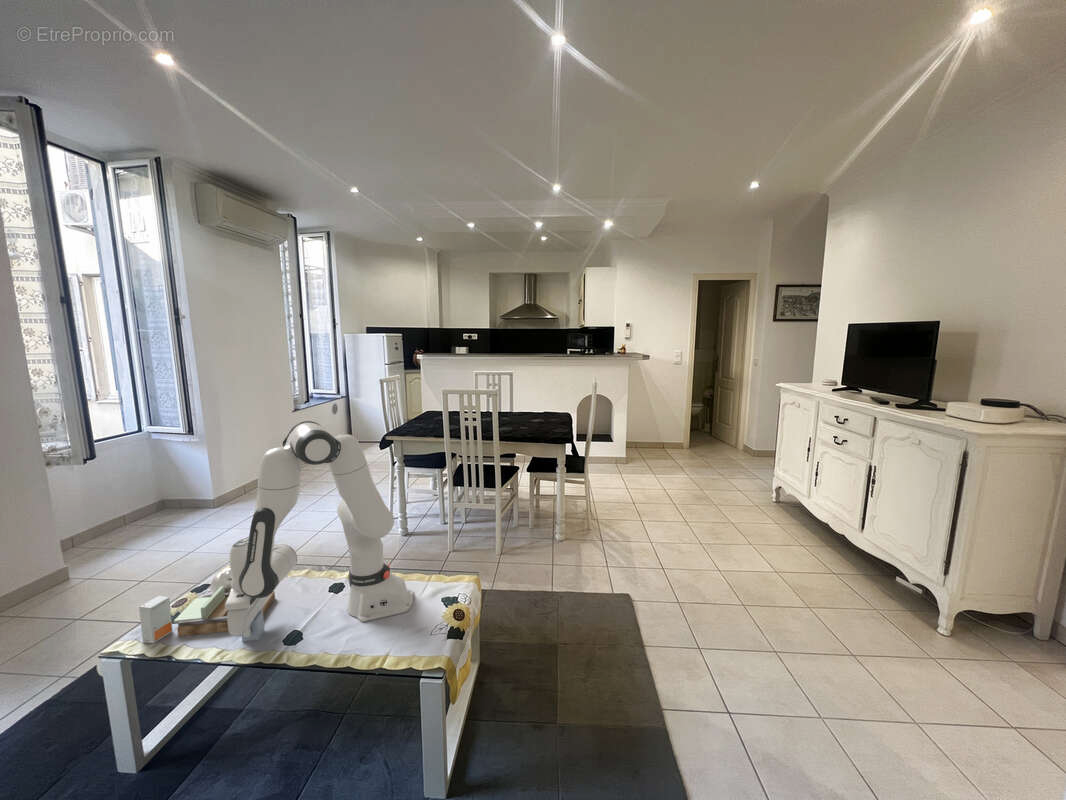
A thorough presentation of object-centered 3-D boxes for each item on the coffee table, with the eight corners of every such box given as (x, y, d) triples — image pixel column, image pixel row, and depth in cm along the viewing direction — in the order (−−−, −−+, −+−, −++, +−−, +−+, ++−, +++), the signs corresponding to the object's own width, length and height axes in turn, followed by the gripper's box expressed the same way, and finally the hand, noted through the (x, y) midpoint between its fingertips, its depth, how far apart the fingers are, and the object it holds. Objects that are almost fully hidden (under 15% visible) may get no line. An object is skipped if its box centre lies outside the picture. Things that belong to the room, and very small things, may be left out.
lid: (225, 597, 146) (224, 586, 146) (206, 619, 135) (204, 607, 134) (195, 600, 144) (194, 589, 144) (173, 623, 133) (172, 610, 132)
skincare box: (153, 644, 128) (149, 608, 127) (142, 642, 129) (137, 606, 127) (173, 631, 134) (169, 596, 132) (162, 629, 135) (159, 595, 133)
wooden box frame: (275, 598, 152) (274, 587, 151) (255, 627, 136) (254, 616, 136) (206, 605, 147) (205, 594, 147) (178, 636, 132) (176, 624, 131)
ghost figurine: (224, 604, 148) (222, 577, 147) (205, 598, 151) (203, 573, 150) (248, 589, 157) (246, 565, 155) (230, 585, 160) (228, 560, 158)
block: (264, 630, 135) (262, 610, 134) (258, 639, 131) (256, 619, 130) (248, 632, 134) (247, 612, 133) (242, 641, 130) (240, 621, 129)
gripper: (253, 571, 140) (256, 609, 142) (221, 609, 120) (225, 652, 122) (273, 569, 141) (276, 606, 143) (245, 606, 121) (249, 649, 123)
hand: (252, 628), depth 132 cm, fingers open, 5 cm apart
